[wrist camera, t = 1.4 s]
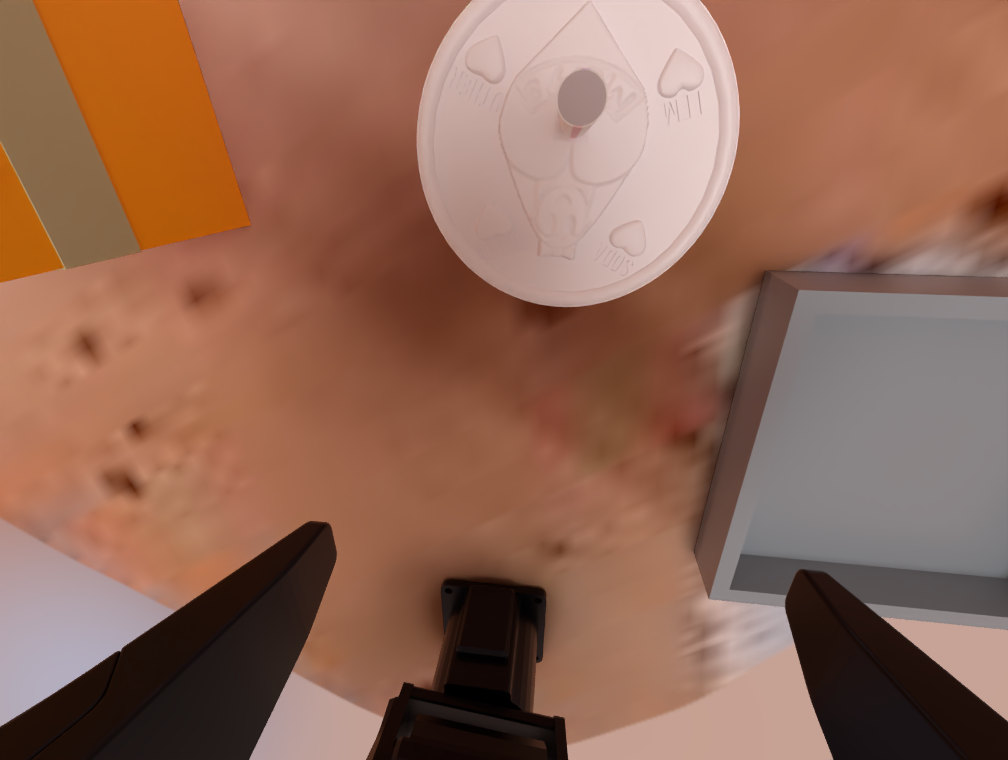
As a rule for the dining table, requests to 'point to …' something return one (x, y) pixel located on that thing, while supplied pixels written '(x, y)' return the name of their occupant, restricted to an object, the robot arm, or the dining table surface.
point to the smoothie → (577, 142)
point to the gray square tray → (868, 447)
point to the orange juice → (105, 135)
